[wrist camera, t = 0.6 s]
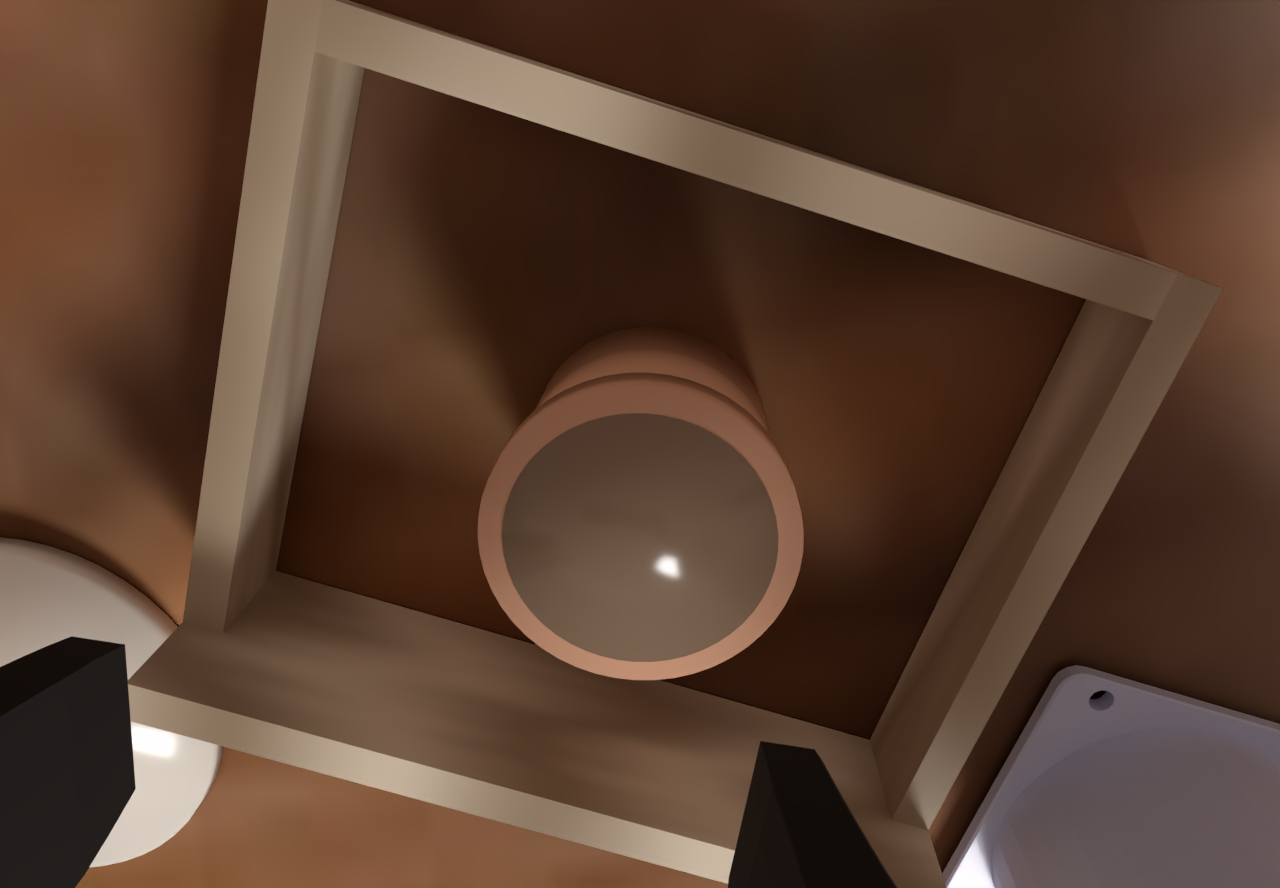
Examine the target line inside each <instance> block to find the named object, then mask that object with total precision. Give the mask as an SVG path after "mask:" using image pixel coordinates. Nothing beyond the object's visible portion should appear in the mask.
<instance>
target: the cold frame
mask: <svg viewBox="0 0 1280 888" xmlns="http://www.w3.org/2000/svg"><path fill="white" fill-rule="evenodd" d="M365 68H367V69H370V70H373V71H376V72H379V73H382V74H386V75H389V76H392V77H395V78H398V79H401V80H404V81H407V82H411V83H414V84H417V85H420V86H423V87H426V88H429V89H432V90H435V91H439V92H442V93H445V94H448V95H451V96H454V97H457V98H460V99H464V100H467V101H470V102H473V103H476V104H479V105H482V106H485V107H489V108H492V109H495V110H498V111H501V112H504V113H507V114H510V115H513V116H517V117H520V118H523V119H526V120H529V121H532V122H535V123H538V124H542V125H545V126H548V127H551V128H554V129H557V130H560V131H563V132H566V133H570V134H573V135H576V136H579V137H582V138H585V139H588V140H591V141H595V142H598V143H601V144H604V145H607V146H610V147H613V148H616V149H619V150H623V151H626V152H629V153H632V154H635V155H638V156H641V157H644V158H648V159H651V160H654V161H657V162H660V163H663V164H666V165H669V166H673V167H676V168H679V169H682V170H685V171H688V172H691V173H694V174H697V175H701V176H704V177H707V178H710V179H713V180H716V181H719V182H722V183H726V184H729V185H732V186H735V187H738V188H741V189H744V190H747V191H750V192H754V193H757V194H760V195H763V196H766V197H769V198H772V199H775V200H779V201H782V202H785V203H788V204H791V205H794V206H797V207H800V208H804V209H807V210H810V211H813V212H816V213H819V214H822V215H825V216H828V217H832V218H835V219H838V220H841V221H844V222H847V223H850V224H853V225H857V226H860V227H863V228H866V229H869V230H872V231H875V232H878V233H881V234H885V235H888V236H891V237H894V238H897V239H900V240H903V241H906V242H910V243H913V244H916V245H919V246H922V247H925V248H928V249H931V250H934V251H938V252H941V253H944V254H947V255H950V256H953V257H956V258H959V259H963V260H966V261H969V262H972V263H975V264H978V265H981V266H984V267H988V268H991V269H994V270H997V271H1000V272H1003V273H1006V274H1009V275H1012V276H1016V277H1019V278H1022V279H1025V280H1028V281H1031V282H1034V283H1037V284H1041V285H1044V286H1047V287H1050V288H1053V289H1056V290H1059V291H1062V292H1065V293H1069V294H1072V295H1075V296H1078V297H1081V298H1084V299H1086V301H1085V303H1084V305H1083V307H1082V309H1081V311H1080V313H1079V315H1078V317H1077V319H1076V321H1075V323H1074V325H1073V327H1072V329H1071V331H1070V333H1069V335H1068V337H1067V339H1066V341H1065V343H1064V345H1063V347H1062V350H1061V352H1060V354H1059V356H1058V358H1057V360H1056V362H1055V364H1054V366H1053V368H1052V370H1051V372H1050V374H1049V376H1048V378H1047V380H1046V382H1045V384H1044V386H1043V388H1042V390H1041V392H1040V394H1039V396H1038V398H1037V400H1036V402H1035V404H1034V407H1033V409H1032V411H1031V413H1030V415H1029V417H1028V419H1027V421H1026V423H1025V425H1024V427H1023V429H1022V431H1021V433H1020V435H1019V437H1018V439H1017V441H1016V443H1015V445H1014V447H1013V449H1012V451H1011V453H1010V455H1009V457H1008V459H1007V461H1006V463H1005V466H1004V468H1003V470H1002V472H1001V474H1000V476H999V478H998V480H997V482H996V484H995V486H994V488H993V490H992V492H991V494H990V496H989V498H988V500H987V502H986V504H985V506H984V508H983V510H982V512H981V514H980V516H979V518H978V520H977V523H976V525H975V527H974V529H973V531H972V533H971V535H970V537H969V539H968V541H967V543H966V545H965V547H964V549H963V551H962V553H961V555H960V557H959V559H958V561H957V563H956V565H955V567H954V569H953V571H952V573H951V575H950V577H949V580H948V582H947V584H946V586H945V588H944V590H943V592H942V594H941V596H940V598H939V600H938V602H937V604H936V606H935V608H934V610H933V612H932V614H931V616H930V618H929V620H928V622H927V624H926V626H925V628H924V630H923V632H922V634H921V636H920V639H919V641H918V643H917V645H916V647H915V649H914V651H913V653H912V655H911V657H910V659H909V661H908V663H907V665H906V667H905V669H904V671H903V673H902V675H901V677H900V679H899V681H898V683H897V685H896V687H895V689H894V691H893V693H892V696H891V698H890V700H889V702H888V704H887V706H886V708H885V710H884V712H883V714H882V716H881V718H880V720H879V722H878V724H877V726H876V728H875V730H874V732H873V734H872V736H871V738H870V740H868V739H865V738H861V737H858V736H854V735H851V734H847V733H844V732H840V731H837V730H833V729H830V728H826V727H823V726H819V725H816V724H812V723H809V722H805V721H802V720H798V719H795V718H791V717H788V716H784V715H781V714H777V713H773V712H770V711H766V710H763V709H759V708H756V707H752V706H749V705H745V704H742V703H738V702H735V701H731V700H728V699H724V698H721V697H717V696H714V695H710V694H707V693H703V692H700V691H696V690H693V689H689V688H686V687H682V686H679V685H675V684H672V683H668V682H665V681H661V680H628V679H619V678H613V677H608V676H604V675H599V674H595V673H592V672H589V671H586V670H583V669H580V668H577V667H575V666H573V665H571V664H569V663H567V662H564V661H562V660H560V659H558V658H557V657H555V656H553V655H552V654H550V653H549V652H547V651H545V650H544V649H542V648H541V647H539V646H538V645H535V644H531V643H528V642H524V641H521V640H517V639H514V638H510V637H507V636H503V635H500V634H496V633H493V632H489V631H486V630H482V629H479V628H475V627H472V626H468V625H464V624H461V623H457V622H454V621H450V620H447V619H443V618H440V617H436V616H433V615H429V614H426V613H422V612H419V611H415V610H412V609H408V608H405V607H401V606H398V605H394V604H391V603H387V602H384V601H380V600H377V599H373V598H370V597H366V596H363V595H359V594H356V593H352V592H349V591H345V590H342V589H338V588H335V587H331V586H328V585H324V584H321V583H317V582H314V581H310V580H306V579H303V578H299V577H296V576H292V575H289V574H285V573H282V572H278V571H276V567H277V562H278V556H279V550H280V545H281V539H282V534H283V528H284V522H285V517H286V511H287V505H288V500H289V494H290V488H291V483H292V477H293V471H294V466H295V460H296V454H297V449H298V443H299V437H300V432H301V426H302V420H303V415H304V409H305V403H306V398H307V392H308V386H309V381H310V375H311V370H312V364H313V358H314V353H315V347H316V341H317V336H318V330H319V324H320V319H321V313H322V307H323V302H324V296H325V290H326V285H327V279H328V273H329V268H330V262H331V256H332V251H333V245H334V239H335V234H336V228H337V222H338V217H339V211H340V206H341V200H342V194H343V189H344V183H345V177H346V172H347V166H348V160H349V155H350V149H351V143H352V138H353V132H354V126H355V121H356V115H357V109H358V104H359V98H360V92H361V87H362V81H363V75H364V70H365ZM1222 291H1223V288H1220V287H1218V286H1215V285H1212V284H1210V283H1207V282H1205V281H1202V280H1199V279H1197V278H1194V277H1192V276H1189V275H1186V274H1184V273H1181V272H1178V271H1176V270H1173V269H1171V268H1168V267H1165V266H1163V265H1160V264H1158V263H1155V262H1152V261H1150V260H1146V259H1143V258H1140V257H1137V256H1134V255H1131V254H1128V253H1125V252H1122V251H1119V250H1116V249H1113V248H1110V247H1106V246H1103V245H1100V244H1097V243H1094V242H1091V241H1088V240H1085V239H1082V238H1079V237H1076V236H1073V235H1070V234H1066V233H1063V232H1060V231H1057V230H1054V229H1051V228H1048V227H1045V226H1042V225H1039V224H1036V223H1033V222H1030V221H1026V220H1023V219H1020V218H1017V217H1014V216H1011V215H1008V214H1005V213H1002V212H999V211H996V210H993V209H989V208H986V207H983V206H980V205H977V204H974V203H971V202H968V201H965V200H962V199H959V198H956V197H953V196H949V195H946V194H943V193H940V192H937V191H934V190H931V189H928V188H925V187H922V186H919V185H916V184H913V183H909V182H906V181H903V180H900V179H897V178H894V177H891V176H888V175H885V174H882V173H879V172H876V171H873V170H869V169H866V168H863V167H860V166H857V165H854V164H851V163H848V162H845V161H842V160H839V159H836V158H832V157H829V156H826V155H823V154H820V153H817V152H814V151H811V150H808V149H805V148H802V147H799V146H796V145H792V144H789V143H786V142H783V141H780V140H777V139H774V138H771V137H768V136H765V135H762V134H759V133H756V132H752V131H749V130H746V129H743V128H740V127H737V126H734V125H731V124H728V123H725V122H722V121H719V120H716V119H712V118H709V117H706V116H703V115H700V114H697V113H694V112H691V111H688V110H685V109H682V108H679V107H676V106H672V105H669V104H666V103H663V102H660V101H657V100H654V99H651V98H648V97H645V96H642V95H639V94H635V93H632V92H629V91H626V90H623V89H620V88H617V87H614V86H611V85H608V84H605V83H602V82H599V81H595V80H592V79H589V78H586V77H583V76H580V75H577V74H574V73H571V72H568V71H565V70H562V69H559V68H555V67H552V66H549V65H546V64H543V63H540V62H537V61H534V60H531V59H528V58H525V57H522V56H519V55H515V54H512V53H509V52H506V51H503V50H500V49H497V48H494V47H491V46H488V45H485V44H482V43H479V42H475V41H472V40H469V39H466V38H463V37H460V36H457V35H454V34H451V33H448V32H445V31H442V30H438V29H435V28H432V27H429V26H426V25H423V24H420V23H417V22H414V21H411V20H408V19H405V18H402V17H398V16H395V15H392V14H389V13H386V12H383V11H380V10H377V9H374V8H371V7H368V6H365V5H362V4H358V3H355V2H352V1H349V0H268V5H267V12H266V19H265V27H264V34H263V41H262V48H261V56H260V63H259V70H258V78H257V85H256V92H255V100H254V107H253V114H252V122H251V129H250V136H249V143H248V151H247V158H246V165H245V173H244V180H243V187H242V195H241V202H240V209H239V216H238V224H237V231H236V238H235V246H234V253H233V260H232V268H231V275H230V282H229V290H228V297H227V304H226V311H225V319H224V326H223V333H222V341H221V348H220V355H219V363H218V370H217V377H216V384H215V392H214V399H213V406H212V414H211V421H210V428H209V436H208V443H207V450H206V457H205V465H204V472H203V479H202V487H201V494H200V501H199V509H198V516H197V523H196V531H195V538H194V545H193V552H192V560H191V567H190V574H189V582H188V589H187V596H186V604H185V611H184V618H183V622H182V623H181V624H180V626H179V627H178V628H177V629H176V630H175V631H174V632H173V633H172V634H171V635H170V636H169V637H168V638H167V639H166V640H165V641H164V643H163V644H162V645H161V646H160V647H159V648H158V649H157V650H156V651H155V652H154V653H153V654H152V655H151V656H150V657H149V658H148V660H147V661H146V662H145V663H144V664H143V665H142V666H141V667H140V668H139V669H138V670H137V671H136V672H135V673H134V674H133V676H132V677H131V678H130V679H129V680H128V692H129V706H130V719H131V722H135V723H139V724H143V725H146V726H150V727H154V728H157V729H161V730H165V731H168V732H172V733H176V734H179V735H183V736H187V737H190V738H194V739H198V740H201V741H205V742H209V743H212V744H216V745H220V746H223V747H227V748H231V749H234V750H238V751H242V752H245V753H249V754H253V755H256V756H260V757H264V758H268V759H271V760H275V761H279V762H282V763H286V764H290V765H293V766H297V767H301V768H304V769H308V770H312V771H315V772H319V773H323V774H326V775H330V776H334V777H337V778H341V779H345V780H348V781H352V782H356V783H359V784H363V785H367V786H370V787H374V788H378V789H381V790H385V791H389V792H393V793H396V794H400V795H404V796H407V797H411V798H415V799H418V800H422V801H426V802H429V803H433V804H437V805H440V806H444V807H448V808H451V809H455V810H459V811H462V812H466V813H470V814H473V815H477V816H481V817H484V818H488V819H492V820H495V821H499V822H503V823H507V824H510V825H514V826H518V827H521V828H525V829H529V830H532V831H536V832H540V833H543V834H547V835H551V836H554V837H558V838H562V839H565V840H569V841H573V842H576V843H580V844H584V845H587V846H591V847H595V848H598V849H602V850H606V851H609V852H613V853H617V854H620V855H624V856H628V857H632V858H635V859H639V860H643V861H646V862H650V863H654V864H657V865H661V866H665V867H668V868H672V869H676V870H679V871H683V872H687V873H690V874H694V875H698V876H701V877H705V878H709V879H712V880H716V881H720V882H723V883H727V884H728V879H729V874H730V870H731V866H732V862H733V857H734V853H735V849H736V844H737V840H738V836H739V831H740V827H741V823H742V818H743V814H744V810H745V805H746V801H747V797H748V792H749V788H750V784H751V779H752V775H753V771H754V767H755V762H756V758H757V754H758V749H759V745H760V741H764V742H770V743H777V744H784V745H790V746H797V747H803V748H810V749H815V751H816V752H817V754H818V755H819V756H820V758H821V759H822V761H823V763H824V764H825V766H826V768H827V770H828V772H829V773H830V775H831V777H832V779H833V781H834V782H835V784H836V786H837V788H838V790H839V791H840V793H841V795H842V797H843V799H844V800H845V802H846V804H847V806H848V807H849V809H850V811H851V813H852V814H853V816H854V818H855V819H856V821H857V823H858V825H859V826H860V828H861V830H862V831H863V833H864V835H865V836H866V838H867V840H868V842H869V843H870V845H871V847H872V848H873V850H874V852H875V853H876V855H877V856H878V858H879V860H880V861H881V863H882V865H883V866H884V868H885V869H886V871H887V873H888V874H889V876H890V877H891V879H892V880H893V882H894V883H895V885H896V887H897V888H947V887H946V884H945V881H944V878H943V875H942V872H941V869H940V866H939V862H938V859H937V856H936V853H935V850H934V847H933V844H932V841H931V838H930V834H929V831H928V830H929V828H930V826H931V824H932V822H933V820H934V819H935V817H936V815H937V813H938V811H939V809H940V808H941V806H942V804H943V802H944V800H945V798H946V797H947V795H948V793H949V791H950V789H951V787H952V786H953V784H954V782H955V780H956V778H957V776H958V775H959V773H960V771H961V769H962V767H963V765H964V764H965V762H966V760H967V758H968V756H969V754H970V753H971V751H972V749H973V747H974V745H975V743H976V742H977V740H978V738H979V736H980V734H981V732H982V731H983V729H984V727H985V725H986V723H987V721H988V720H989V718H990V716H991V714H992V712H993V710H994V709H995V707H996V705H997V703H998V701H999V699H1000V698H1001V696H1002V694H1003V692H1004V690H1005V688H1006V687H1007V685H1008V683H1009V681H1010V679H1011V677H1012V676H1013V674H1014V672H1015V670H1016V668H1017V666H1018V665H1019V663H1020V661H1021V659H1022V657H1023V655H1024V654H1025V652H1026V650H1027V648H1028V646H1029V644H1030V643H1031V641H1032V639H1033V637H1034V635H1035V633H1036V632H1037V630H1038V628H1039V626H1040V624H1041V622H1042V621H1043V619H1044V617H1045V615H1046V613H1047V611H1048V610H1049V608H1050V606H1051V604H1052V602H1053V600H1054V599H1055V597H1056V595H1057V593H1058V591H1059V589H1060V588H1061V586H1062V584H1063V582H1064V580H1065V578H1066V577H1067V575H1068V573H1069V571H1070V569H1071V567H1072V566H1073V564H1074V562H1075V560H1076V558H1077V556H1078V555H1079V553H1080V551H1081V549H1082V547H1083V545H1084V544H1085V542H1086V540H1087V538H1088V536H1089V534H1090V533H1091V531H1092V529H1093V527H1094V525H1095V523H1096V522H1097V520H1098V518H1099V516H1100V514H1101V512H1102V511H1103V509H1104V507H1105V505H1106V503H1107V501H1108V500H1109V498H1110V496H1111V494H1112V492H1113V490H1114V489H1115V487H1116V485H1117V483H1118V481H1119V479H1120V478H1121V476H1122V474H1123V472H1124V470H1125V468H1126V467H1127V465H1128V463H1129V461H1130V459H1131V457H1132V456H1133V454H1134V452H1135V450H1136V448H1137V446H1138V445H1139V443H1140V441H1141V439H1142V437H1143V435H1144V434H1145V432H1146V430H1147V428H1148V426H1149V424H1150V423H1151V421H1152V419H1153V417H1154V415H1155V413H1156V412H1157V410H1158V408H1159V406H1160V404H1161V402H1162V401H1163V399H1164V397H1165V395H1166V393H1167V391H1168V390H1169V388H1170V386H1171V384H1172V382H1173V380H1174V379H1175V377H1176V375H1177V373H1178V371H1179V369H1180V368H1181V366H1182V364H1183V362H1184V360H1185V358H1186V357H1187V355H1188V353H1189V351H1190V349H1191V347H1192V346H1193V344H1194V342H1195V340H1196V338H1197V336H1198V335H1199V333H1200V331H1201V329H1202V327H1203V325H1204V324H1205V322H1206V320H1207V318H1208V316H1209V314H1210V313H1211V311H1212V309H1213V307H1214V305H1215V303H1216V302H1217V300H1218V298H1219V296H1220V294H1221V292H1222Z"/></svg>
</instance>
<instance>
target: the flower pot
mask: <svg viewBox="0 0 1280 888" xmlns="http://www.w3.org/2000/svg"><path fill="white" fill-rule="evenodd" d="M803 542H804V530H803V521H802V513H801V509H800V505H799V501H798V498H797V494H796V490H795V486H794V483H793V479H792V475H791V472H790V470H789V468H788V465H787V463H786V461H785V458H784V456H783V454H782V453H781V451H780V449H779V448H778V446H777V444H776V443H775V441H774V439H773V438H772V437H771V436H770V433H769V428H768V424H767V420H766V416H765V412H764V408H763V405H762V402H761V400H760V397H759V395H758V393H757V390H756V388H755V387H754V385H753V383H752V382H751V380H750V378H749V377H748V375H747V374H746V373H745V372H744V371H743V369H742V368H741V367H740V366H739V364H738V363H736V362H735V361H734V360H733V359H732V358H731V357H730V356H729V355H728V354H727V353H725V352H724V351H723V350H721V349H720V348H718V347H717V346H716V345H714V344H712V343H710V342H708V341H707V340H705V339H703V338H701V337H698V336H696V335H693V334H690V333H688V332H685V331H680V330H676V329H672V328H665V327H655V326H652V327H634V328H627V329H622V330H618V331H615V332H611V333H608V334H605V335H603V336H601V337H599V338H596V339H594V340H592V341H591V342H589V343H587V344H586V345H584V346H582V347H581V348H579V349H578V350H577V351H576V352H574V353H573V354H572V355H571V356H569V357H568V358H567V359H566V360H565V361H564V362H563V363H562V364H561V366H560V367H559V368H558V369H557V370H556V372H555V373H554V375H553V376H552V377H551V379H550V380H549V382H548V384H547V386H546V388H545V390H544V392H543V394H542V396H541V398H540V400H539V402H538V404H537V406H536V408H535V410H534V411H533V412H532V413H531V414H530V415H529V416H528V417H527V418H526V419H525V420H524V421H523V422H522V423H521V424H520V425H519V426H518V427H517V429H516V430H515V432H514V433H513V434H512V436H511V437H510V439H509V440H508V441H507V443H506V445H505V447H504V449H503V451H502V453H501V455H500V456H499V458H498V460H497V462H496V464H495V466H494V468H493V470H492V472H491V474H490V476H489V478H488V481H487V484H486V486H485V489H484V492H483V495H482V499H481V504H480V510H479V515H478V544H479V553H480V558H481V562H482V565H483V569H484V573H485V575H486V578H487V580H488V583H489V585H490V588H491V590H492V592H493V594H494V595H495V597H496V599H497V601H498V602H499V604H500V606H501V607H502V609H503V610H504V611H505V613H506V614H507V615H508V617H509V618H510V619H511V620H512V622H513V623H514V624H515V625H516V626H517V627H518V628H519V629H520V630H521V631H522V632H523V633H524V634H525V635H526V636H527V637H528V638H530V639H531V640H532V641H533V642H535V643H536V644H537V645H538V646H539V647H541V648H542V649H544V650H545V651H547V652H549V653H550V654H552V655H553V656H555V657H557V658H558V659H560V660H562V661H564V662H567V663H569V664H571V665H573V666H575V667H577V668H580V669H583V670H586V671H589V672H592V673H595V674H599V675H604V676H608V677H613V678H619V679H628V680H661V679H670V678H677V677H681V676H686V675H690V674H694V673H697V672H700V671H703V670H706V669H708V668H711V667H714V666H716V665H718V664H720V663H722V662H724V661H726V660H728V659H730V658H732V657H733V656H735V655H736V654H738V653H739V652H741V651H742V650H744V649H746V648H747V647H748V646H749V645H750V644H752V643H753V642H754V641H755V640H756V639H758V638H759V637H760V636H761V635H762V634H763V633H764V632H765V631H766V630H767V629H768V627H769V626H770V625H771V624H772V623H773V622H774V621H775V619H776V618H777V616H778V615H779V614H780V612H781V611H782V609H783V608H784V606H785V605H786V603H787V601H788V599H789V597H790V595H791V593H792V591H793V589H794V586H795V583H796V580H797V577H798V574H799V571H800V566H801V561H802V555H803Z"/></svg>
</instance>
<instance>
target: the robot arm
mask: <svg viewBox="0 0 1280 888" xmlns="http://www.w3.org/2000/svg"><path fill="white" fill-rule="evenodd" d="M1101 690H1103V691H1106V692H1105V694H1104V695H1103V696H1102V697H1100V698H1097V699H1090V697H1091V696H1092V695H1093V694H1094V693H1095V692H1098V691H1101ZM135 789H136V787H135V773H134V760H133V746H132V733H131V719H130V706H129V692H128V678H127V665H126V651H125V644H119V643H112V642H106V641H99V640H92V639H86V638H79V637H73V636H71V637H69V638H66V639H64V640H61V641H59V642H56V643H53V644H51V645H48V646H46V647H44V648H41V649H39V650H37V651H34V652H32V653H30V654H28V655H25V656H23V657H21V658H19V659H17V660H14V661H12V662H10V663H8V664H6V665H3V666H1V667H0V888H75V887H76V885H77V884H78V883H79V881H80V880H81V879H82V877H83V876H84V875H85V873H86V871H87V870H88V868H89V867H90V865H91V863H92V862H93V860H94V859H95V857H96V855H97V854H98V852H99V850H100V849H101V847H102V846H103V844H104V842H105V841H106V839H107V838H108V836H109V834H110V833H111V831H112V829H113V827H114V826H115V824H116V822H117V820H118V819H119V817H120V815H121V813H122V812H123V810H124V808H125V806H126V805H127V803H128V801H129V800H130V798H131V796H132V794H133V793H134V791H135ZM942 875H943V878H944V881H945V884H946V887H947V888H1280V724H1279V723H1275V722H1272V721H1268V720H1265V719H1262V718H1258V717H1255V716H1251V715H1248V714H1245V713H1241V712H1238V711H1234V710H1231V709H1228V708H1224V707H1221V706H1217V705H1214V704H1211V703H1207V702H1204V701H1201V700H1197V699H1194V698H1190V697H1187V696H1184V695H1180V694H1177V693H1173V692H1170V691H1167V690H1163V689H1160V688H1156V687H1153V686H1150V685H1146V684H1143V683H1139V682H1136V681H1133V680H1129V679H1126V678H1122V677H1119V676H1116V675H1112V674H1109V673H1105V672H1102V671H1099V670H1095V669H1092V668H1088V667H1085V666H1077V665H1075V666H1070V667H1066V668H1064V669H1062V670H1061V671H1059V672H1058V673H1057V674H1056V675H1055V676H1054V677H1053V679H1052V680H1051V682H1050V684H1049V686H1048V688H1047V689H1046V691H1045V693H1044V695H1043V696H1042V698H1041V700H1040V702H1039V703H1038V705H1037V707H1036V709H1035V711H1034V712H1033V714H1032V716H1031V718H1030V719H1029V721H1028V723H1027V725H1026V726H1025V728H1024V730H1023V732H1022V733H1021V735H1020V737H1019V739H1018V741H1017V742H1016V744H1015V746H1014V748H1013V749H1012V751H1011V753H1010V755H1009V756H1008V758H1007V760H1006V762H1005V764H1004V765H1003V767H1002V769H1001V771H1000V772H999V774H998V776H997V778H996V779H995V781H994V783H993V785H992V786H991V788H990V790H989V792H988V794H987V795H986V797H985V799H984V801H983V802H982V804H981V806H980V808H979V809H978V811H977V813H976V815H975V817H974V818H973V820H972V822H971V824H970V825H969V827H968V829H967V831H966V832H965V834H964V836H963V838H962V839H961V841H960V843H959V845H958V847H957V848H956V850H955V852H954V854H953V855H952V857H951V859H950V861H949V862H948V864H947V866H946V868H945V870H944V871H943V873H942ZM728 888H897V887H896V885H895V883H894V882H893V880H892V879H891V877H890V876H889V874H888V873H887V871H886V869H885V868H884V866H883V865H882V863H881V861H880V860H879V858H878V856H877V855H876V853H875V852H874V850H873V848H872V847H871V845H870V843H869V842H868V840H867V838H866V836H865V835H864V833H863V831H862V830H861V828H860V826H859V825H858V823H857V821H856V819H855V818H854V816H853V814H852V813H851V811H850V809H849V807H848V806H847V804H846V802H845V800H844V799H843V797H842V795H841V793H840V791H839V790H838V788H837V786H836V784H835V782H834V781H833V779H832V777H831V775H830V773H829V772H828V770H827V768H826V766H825V764H824V763H823V761H822V759H821V758H820V756H819V755H818V754H817V752H816V751H815V749H810V748H803V747H797V746H790V745H784V744H777V743H770V742H764V741H760V745H759V749H758V754H757V758H756V762H755V767H754V771H753V775H752V779H751V784H750V788H749V792H748V797H747V801H746V805H745V810H744V814H743V818H742V823H741V827H740V831H739V836H738V840H737V844H736V849H735V853H734V857H733V862H732V866H731V870H730V874H729V879H728Z"/></svg>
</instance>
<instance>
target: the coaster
mask: <svg viewBox="0 0 1280 888" xmlns="http://www.w3.org/2000/svg"><path fill="white" fill-rule="evenodd" d="M177 628H178V627H177V626H176V624H175V623H174V622H173V621H172V620H171V619H170V618H169V617H168V616H167V614H166V613H164V612H163V611H162V610H161V609H160V608H159V607H158V606H157V605H156V604H154V603H153V602H152V601H151V600H150V599H149V598H148V597H147V596H145V595H144V594H143V593H141V592H140V591H138V590H137V589H136V588H134V587H133V586H132V585H130V584H129V583H127V582H126V581H125V580H123V579H121V578H120V577H118V576H116V575H115V574H113V573H111V572H109V571H108V570H106V569H104V568H103V567H101V566H99V565H97V564H95V563H92V562H90V561H88V560H86V559H84V558H81V557H79V556H77V555H75V554H72V553H69V552H66V551H63V550H60V549H57V548H54V547H51V546H48V545H44V544H39V543H35V542H30V541H26V540H20V539H11V538H2V537H0V667H1V666H3V665H6V664H8V663H10V662H12V661H14V660H17V659H19V658H21V657H23V656H25V655H28V654H30V653H32V652H34V651H37V650H39V649H41V648H44V647H46V646H48V645H51V644H53V643H56V642H59V641H61V640H64V639H66V638H69V637H71V636H73V637H79V638H86V639H92V640H99V641H106V642H112V643H119V644H125V651H126V665H127V678H128V680H129V679H130V678H131V677H132V676H133V674H134V673H135V672H136V671H137V670H138V669H139V668H140V667H141V666H142V665H143V664H144V663H145V662H146V661H147V660H148V658H149V657H150V656H151V655H152V654H153V653H154V652H155V651H156V650H157V649H158V648H159V647H160V646H161V645H162V644H163V643H164V641H165V640H166V639H167V638H168V637H169V636H170V635H171V634H172V633H173V632H174V631H175V630H176V629H177ZM131 733H132V746H133V760H134V773H135V787H136V789H135V791H134V793H133V794H132V796H131V798H130V800H129V801H128V803H127V805H126V806H125V808H124V810H123V812H122V813H121V815H120V817H119V819H118V820H117V822H116V824H115V826H114V827H113V829H112V831H111V833H110V834H109V836H108V838H107V839H106V841H105V842H104V844H103V846H102V847H101V849H100V850H99V852H98V854H97V855H96V857H95V859H94V860H93V862H92V863H91V865H90V867H98V866H105V865H110V864H115V863H119V862H124V861H127V860H129V859H132V858H135V857H138V856H141V855H143V854H145V853H147V852H149V851H151V850H153V849H155V848H157V847H159V846H160V845H162V844H163V843H164V842H166V841H167V840H169V839H170V838H171V837H173V836H174V835H175V834H176V833H177V832H178V831H179V830H180V829H181V828H182V827H183V826H184V825H185V824H186V823H187V822H188V821H189V819H190V818H191V816H192V815H193V813H194V812H195V811H196V809H197V808H198V806H199V805H200V803H201V802H202V800H203V799H204V797H205V796H206V794H207V793H208V791H209V790H210V788H211V786H212V784H213V782H214V779H215V777H216V775H217V773H218V769H219V765H220V761H221V757H222V751H223V746H220V745H216V744H212V743H209V742H205V741H201V740H198V739H194V738H190V737H187V736H183V735H179V734H176V733H172V732H168V731H165V730H161V729H157V728H154V727H150V726H146V725H143V724H139V723H135V722H131Z"/></svg>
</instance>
